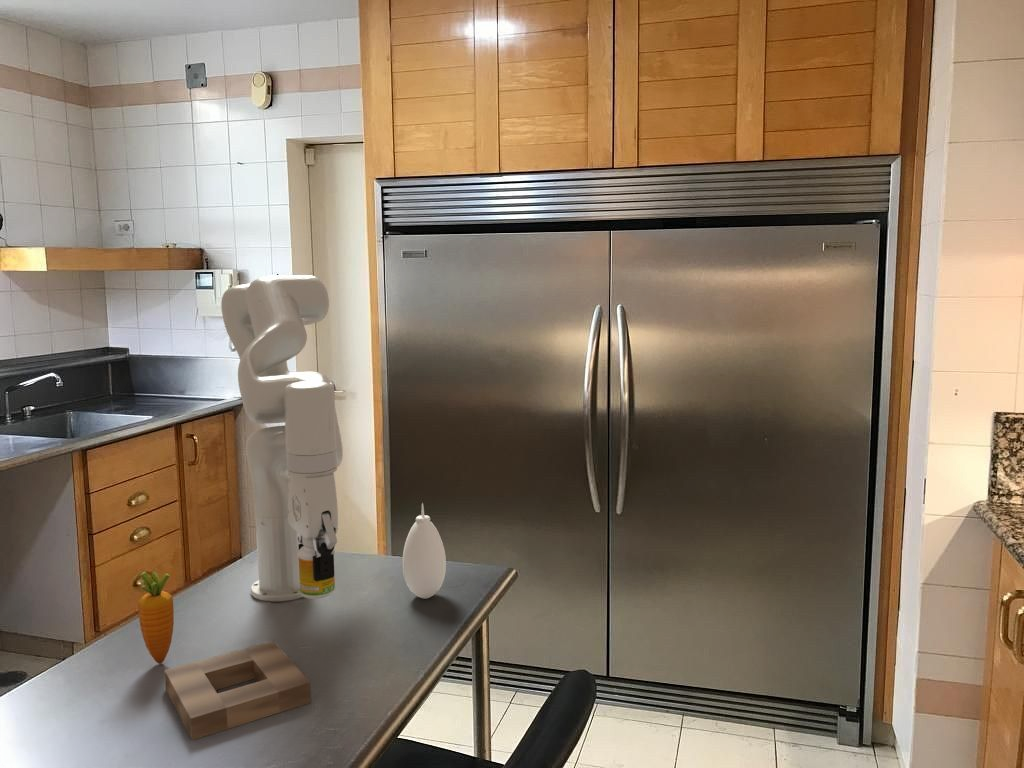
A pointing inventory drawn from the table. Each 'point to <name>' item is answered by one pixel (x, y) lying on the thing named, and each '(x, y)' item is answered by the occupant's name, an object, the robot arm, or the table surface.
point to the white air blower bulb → (424, 558)
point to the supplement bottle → (307, 582)
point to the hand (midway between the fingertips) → (316, 571)
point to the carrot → (156, 616)
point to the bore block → (218, 712)
